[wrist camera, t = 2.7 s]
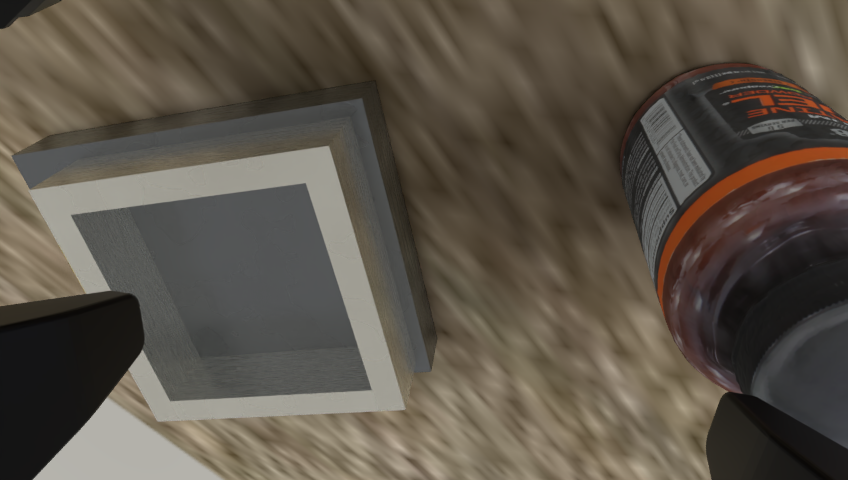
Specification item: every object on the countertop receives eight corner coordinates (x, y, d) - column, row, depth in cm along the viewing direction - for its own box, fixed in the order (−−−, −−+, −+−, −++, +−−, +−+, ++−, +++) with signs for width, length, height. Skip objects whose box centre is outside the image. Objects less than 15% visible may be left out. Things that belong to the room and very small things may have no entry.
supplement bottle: (846, 74, 18) (1213, 288, 9) (762, 241, 21) (963, 538, 12) (648, 40, 19) (786, 209, 9) (593, 210, 22) (651, 473, 12)
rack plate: (375, 80, 20) (341, 126, 16) (437, 338, 25) (422, 419, 22) (49, 135, 23) (-46, 185, 19) (164, 358, 28) (108, 432, 24)
